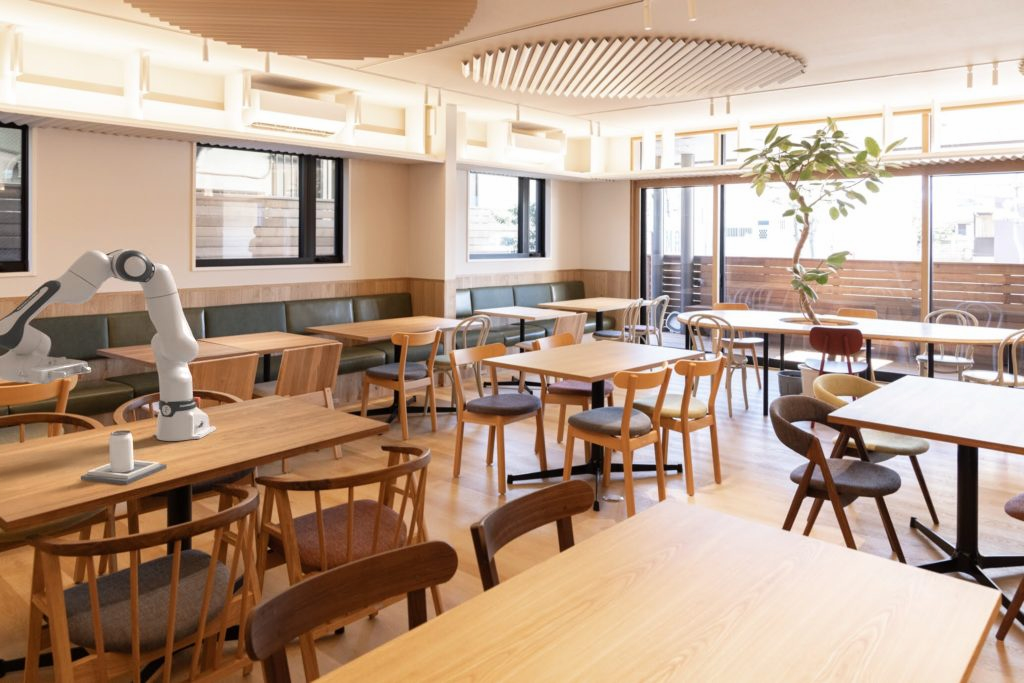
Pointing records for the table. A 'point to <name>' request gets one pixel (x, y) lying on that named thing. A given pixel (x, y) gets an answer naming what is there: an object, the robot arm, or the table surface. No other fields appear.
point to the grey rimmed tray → (137, 473)
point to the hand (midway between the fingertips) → (78, 372)
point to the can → (121, 452)
